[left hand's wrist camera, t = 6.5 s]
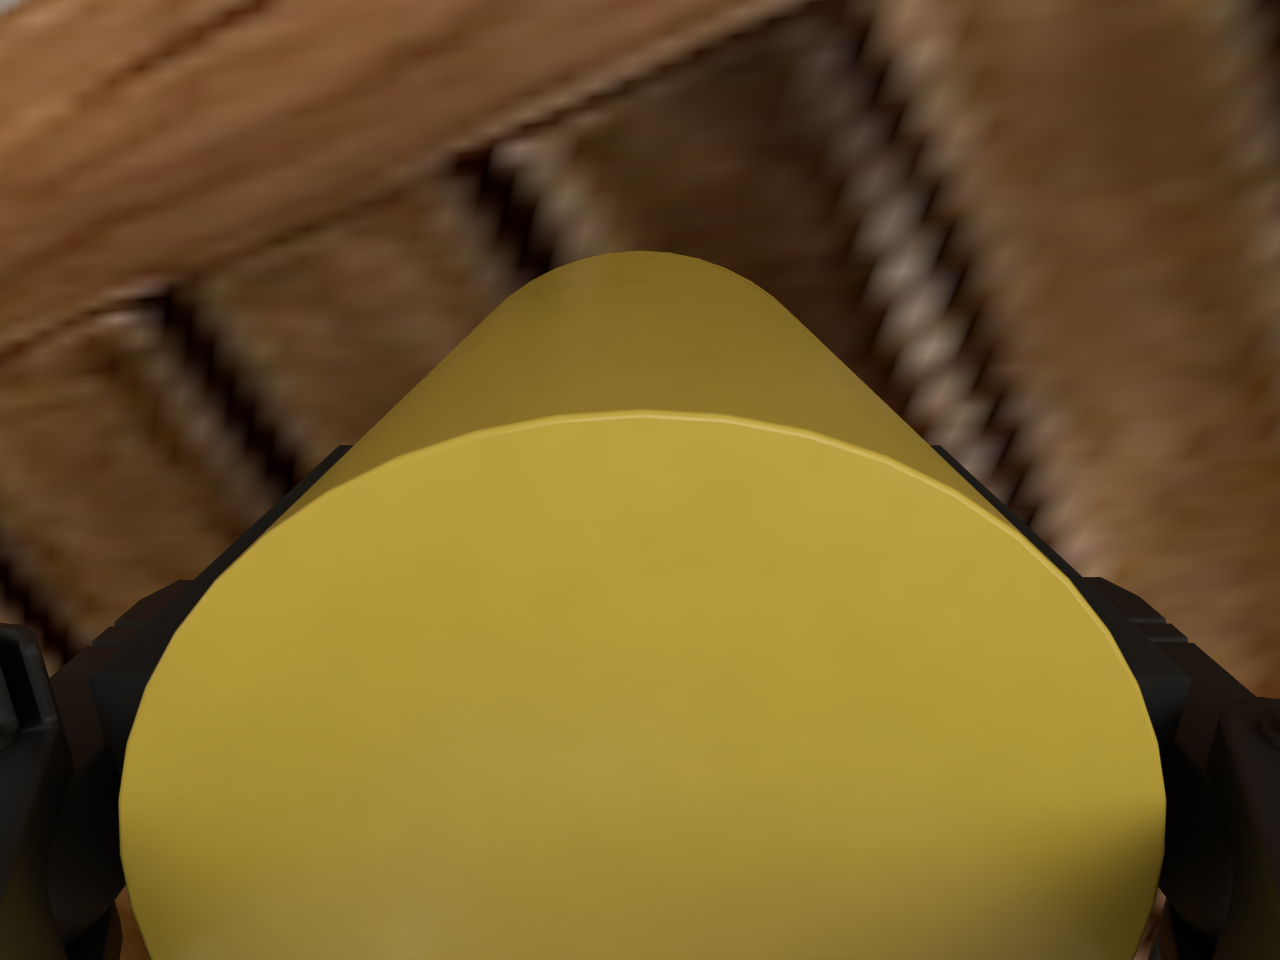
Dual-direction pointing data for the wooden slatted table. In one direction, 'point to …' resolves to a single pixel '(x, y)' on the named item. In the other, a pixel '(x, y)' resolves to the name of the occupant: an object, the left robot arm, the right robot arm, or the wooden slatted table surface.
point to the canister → (642, 676)
